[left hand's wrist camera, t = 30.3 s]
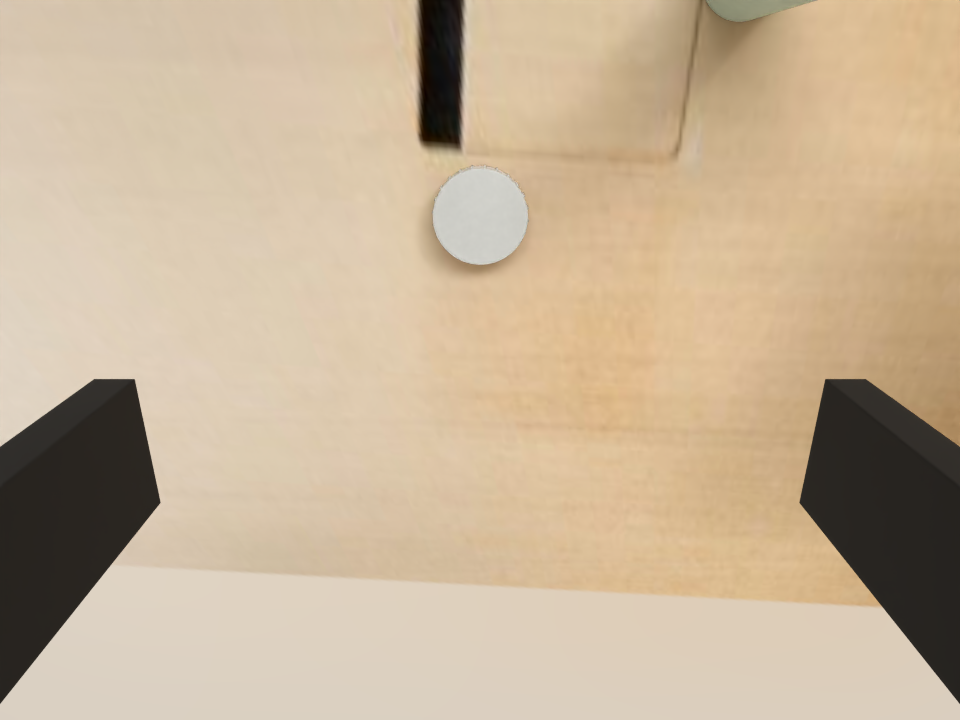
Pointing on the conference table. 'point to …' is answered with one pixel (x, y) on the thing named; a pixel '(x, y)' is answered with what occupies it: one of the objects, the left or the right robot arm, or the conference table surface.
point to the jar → (751, 8)
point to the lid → (480, 215)
